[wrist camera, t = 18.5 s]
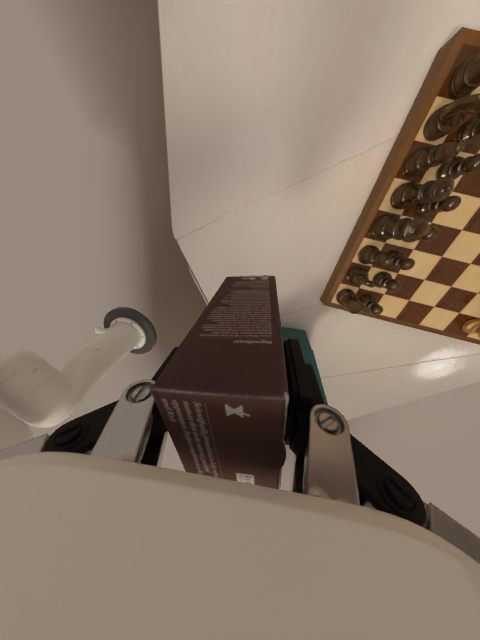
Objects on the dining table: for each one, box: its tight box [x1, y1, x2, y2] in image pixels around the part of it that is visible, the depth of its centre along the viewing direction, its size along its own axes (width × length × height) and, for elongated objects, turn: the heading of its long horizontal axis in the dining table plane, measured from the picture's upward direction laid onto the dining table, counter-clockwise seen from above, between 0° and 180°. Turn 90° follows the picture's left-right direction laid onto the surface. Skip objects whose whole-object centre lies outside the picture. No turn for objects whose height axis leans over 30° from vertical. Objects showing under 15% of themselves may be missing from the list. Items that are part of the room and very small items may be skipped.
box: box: [150, 275, 289, 489], centre depth 11 cm, size 6×4×12 cm
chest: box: [281, 328, 312, 350], centre depth 51 cm, size 15×12×9 cm
